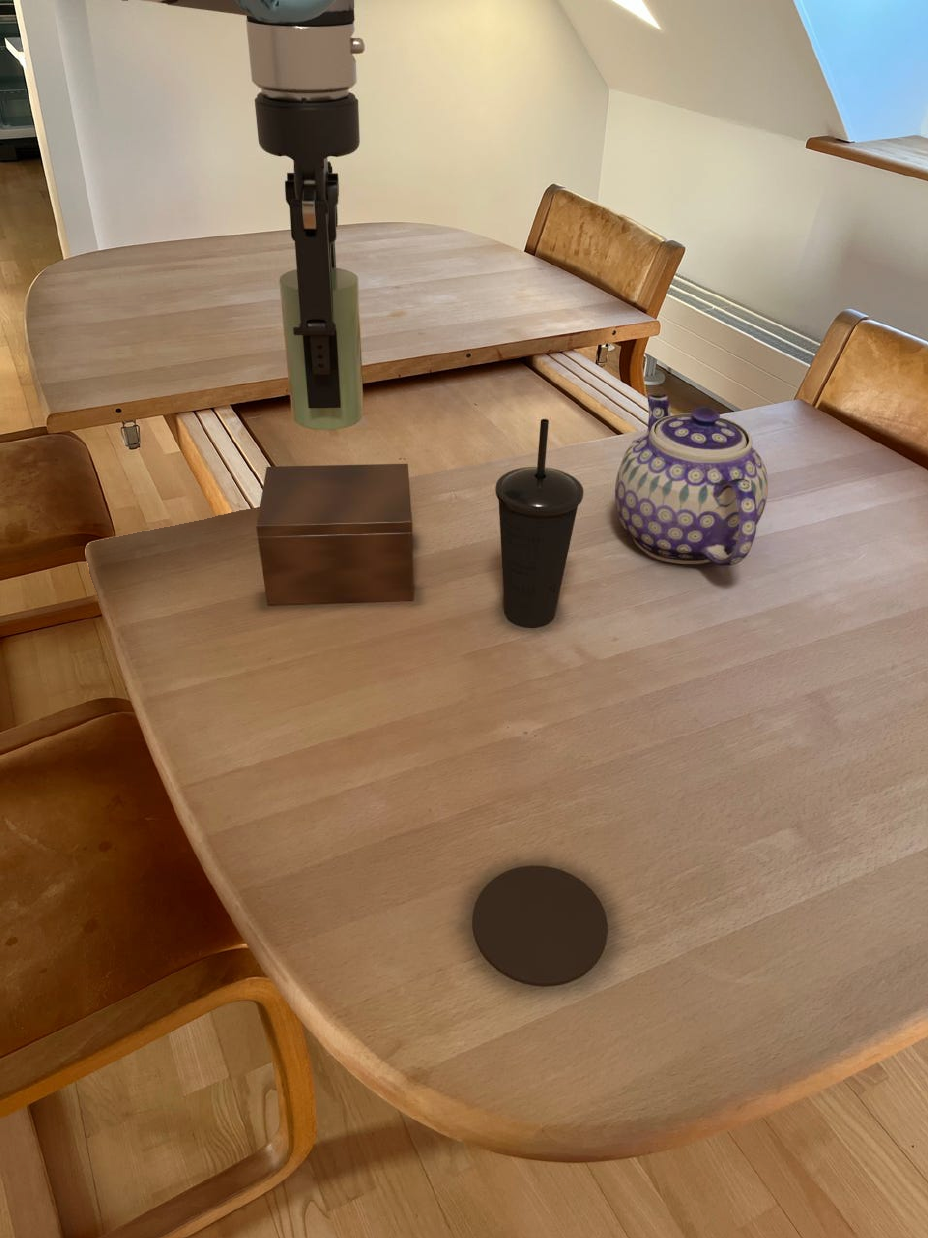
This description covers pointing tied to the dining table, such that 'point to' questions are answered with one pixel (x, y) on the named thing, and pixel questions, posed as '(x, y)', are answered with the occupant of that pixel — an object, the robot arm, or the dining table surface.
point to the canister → (347, 353)
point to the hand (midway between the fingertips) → (326, 388)
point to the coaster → (540, 925)
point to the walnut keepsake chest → (336, 534)
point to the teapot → (691, 487)
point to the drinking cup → (535, 536)
